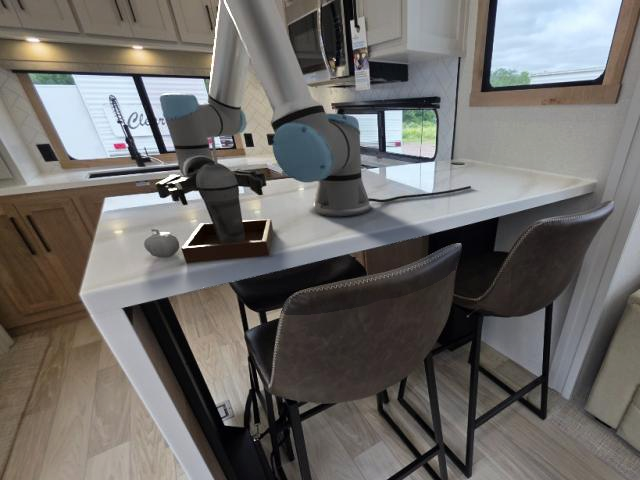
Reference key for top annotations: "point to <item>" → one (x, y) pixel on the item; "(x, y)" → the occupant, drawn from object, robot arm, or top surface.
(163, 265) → the top surface
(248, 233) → the tray
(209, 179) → the beverage cup
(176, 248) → the grey pumpkin
